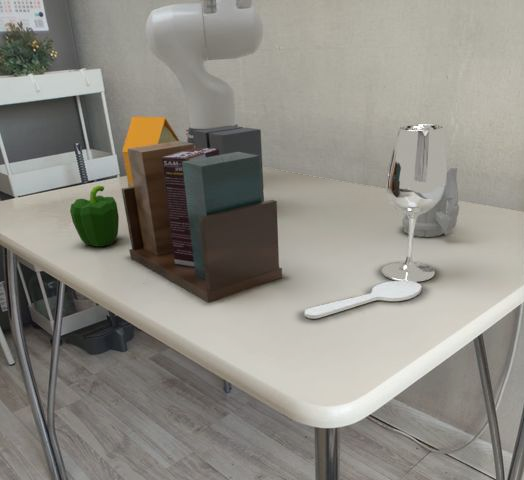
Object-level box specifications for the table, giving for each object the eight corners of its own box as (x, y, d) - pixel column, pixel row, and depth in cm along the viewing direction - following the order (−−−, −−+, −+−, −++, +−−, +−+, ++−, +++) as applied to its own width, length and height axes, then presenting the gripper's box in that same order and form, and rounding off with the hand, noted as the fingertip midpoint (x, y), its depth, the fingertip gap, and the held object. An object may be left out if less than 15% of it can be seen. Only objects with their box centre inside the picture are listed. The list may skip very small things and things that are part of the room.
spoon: (295, 308, 69) (295, 305, 69) (405, 279, 76) (405, 276, 75) (316, 324, 65) (316, 321, 65) (431, 292, 72) (431, 288, 71)
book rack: (130, 257, 90) (111, 149, 82) (196, 240, 97) (184, 138, 88) (208, 302, 73) (193, 170, 64) (282, 277, 79) (278, 154, 71)
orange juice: (162, 217, 112) (147, 113, 102) (193, 222, 107) (181, 114, 97) (134, 227, 106) (115, 118, 96) (166, 233, 102) (150, 120, 92)
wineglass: (401, 287, 74) (415, 133, 64) (370, 269, 80) (378, 127, 70) (446, 276, 76) (466, 127, 67) (412, 260, 83) (426, 121, 73)
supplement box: (200, 268, 80) (187, 158, 72) (173, 264, 82) (158, 157, 74) (229, 250, 87) (220, 147, 79) (204, 247, 89) (193, 146, 81)
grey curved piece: (429, 222, 99) (436, 155, 93) (471, 240, 89) (482, 166, 84) (393, 228, 97) (398, 160, 91) (432, 247, 87) (441, 172, 81)
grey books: (201, 209, 116) (192, 130, 108) (235, 201, 120) (229, 125, 112) (229, 219, 108) (222, 135, 100) (264, 210, 112) (260, 129, 105)
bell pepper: (85, 253, 93) (72, 196, 88) (73, 242, 100) (60, 188, 95) (131, 243, 97) (121, 188, 92) (116, 233, 103) (106, 180, 98)
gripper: (281, -121, 69) (284, 4, 76) (200, -88, 84) (209, 15, 91) (242, -127, 66) (249, 5, 73) (165, -91, 81) (176, 16, 88)
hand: (226, 11), depth 82 cm, fingers open, 8 cm apart
